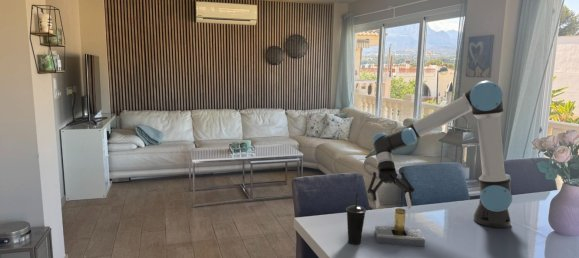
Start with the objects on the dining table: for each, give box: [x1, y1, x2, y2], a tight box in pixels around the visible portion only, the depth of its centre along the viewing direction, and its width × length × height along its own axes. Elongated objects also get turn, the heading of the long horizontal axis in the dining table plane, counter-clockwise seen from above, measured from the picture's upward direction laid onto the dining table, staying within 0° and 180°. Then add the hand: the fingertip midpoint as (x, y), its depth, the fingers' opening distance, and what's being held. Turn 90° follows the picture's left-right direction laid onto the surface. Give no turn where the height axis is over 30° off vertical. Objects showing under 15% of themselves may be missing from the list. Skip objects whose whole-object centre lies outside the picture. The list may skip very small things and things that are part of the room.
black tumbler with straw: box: [345, 192, 367, 246], centre depth 162 cm, size 8×8×20 cm
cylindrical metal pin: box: [393, 208, 407, 236], centre depth 168 cm, size 4×4×12 cm
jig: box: [374, 225, 426, 247], centre depth 168 cm, size 18×12×3 cm, turn 83°
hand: (394, 207), depth 175 cm, fingers open, 13 cm apart
